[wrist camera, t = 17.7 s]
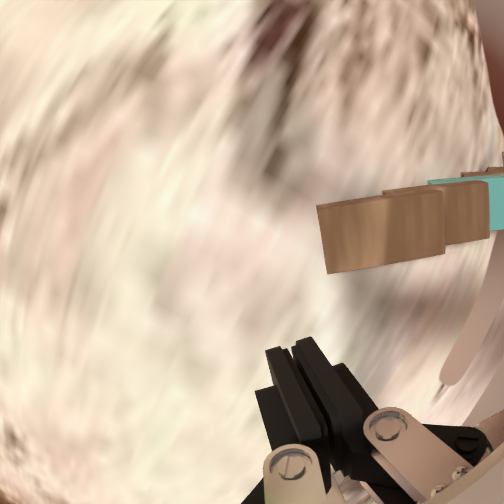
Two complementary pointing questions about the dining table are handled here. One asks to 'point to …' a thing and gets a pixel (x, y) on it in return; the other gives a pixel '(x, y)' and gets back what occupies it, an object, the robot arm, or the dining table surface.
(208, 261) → the dining table surface
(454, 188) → the domino
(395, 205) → the domino
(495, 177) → the domino
